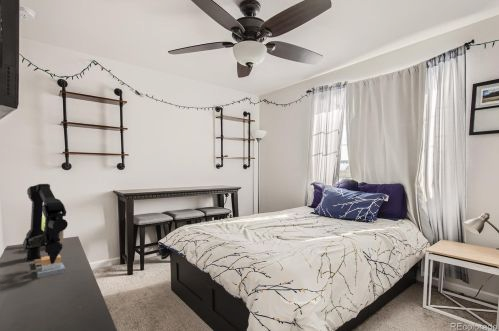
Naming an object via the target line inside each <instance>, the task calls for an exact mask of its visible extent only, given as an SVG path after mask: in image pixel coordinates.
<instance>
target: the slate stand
mask: <svg viewBox="0 0 499 331" xmlns="http://www.w3.org/2000/svg"><path fill="white" fill-rule="evenodd" d="M64 273H65V274H66V267H65V265H64V262H62V261H61V268H56V269H51V270H46V271H42V270H41V266H40V267H36V268H35V274H36V277H37V279H41V278H45V277H50V276H54V275H55V276H56V275H59V274H64Z"/></svg>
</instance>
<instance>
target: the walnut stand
mask: <svg viewBox="0 0 499 331" xmlns="http://www.w3.org/2000/svg"><path fill="white" fill-rule="evenodd" d="M40 266H41V259H35V260H34V268H35V269H36V267H40Z"/></svg>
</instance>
